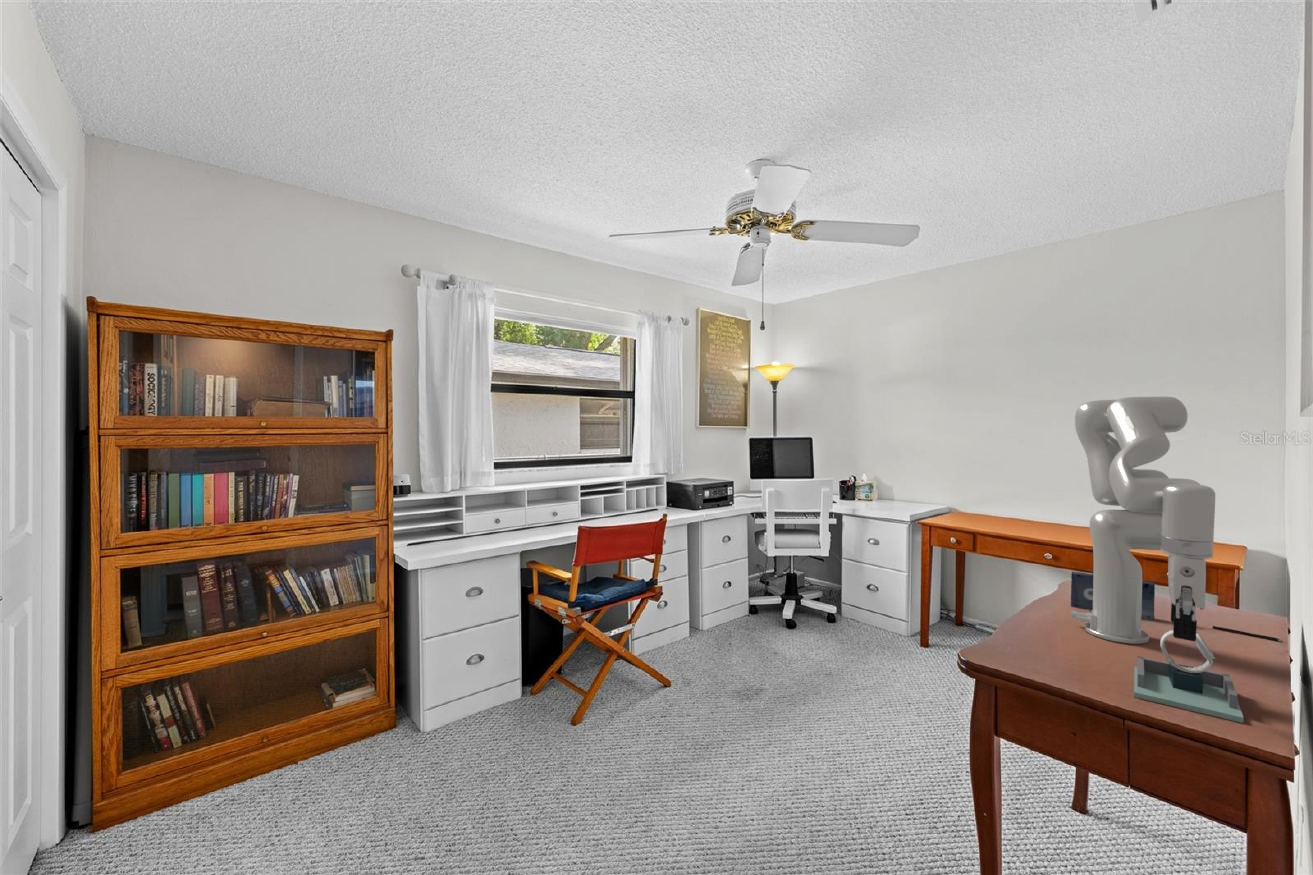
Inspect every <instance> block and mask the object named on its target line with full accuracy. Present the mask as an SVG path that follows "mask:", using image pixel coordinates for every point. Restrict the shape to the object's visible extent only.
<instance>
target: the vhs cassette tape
mask: <svg viewBox="0 0 1313 875" xmlns="http://www.w3.org/2000/svg"><path fill="white" fill-rule="evenodd" d="M1070 575H1071V577H1070V578H1071V582H1070V583H1071V584H1070V607H1072V608H1077V609H1082V610H1087V609H1088V611H1092V610H1093V573H1092V574H1091V573H1084V572H1078V571H1073V570H1072V571H1071V574H1070ZM1155 586H1156V584H1155V582H1148V581H1144V580H1142V613H1141V618H1144V619H1143V620H1147V619H1149V620H1148V621H1154V620H1155V594H1156V592H1155V589H1156V588H1155Z"/></svg>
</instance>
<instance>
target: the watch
mask: <svg viewBox="0 0 1313 875" xmlns="http://www.w3.org/2000/svg"><path fill="white" fill-rule="evenodd" d="M1172 636H1173V629H1170V630H1169V631H1166V632H1165V633H1164V634H1163V635H1162V636H1161V638H1160V642H1159V643H1160V644H1159V646H1160V648H1161V652H1162V654H1163V656H1164V658H1165V659H1166V660H1167V661H1166V662H1168V663H1169V679H1170V681H1171V684H1172V687H1173V688H1177V689H1182V690H1187V691H1191V692H1196V693H1201V694H1203V677H1202V675H1201V673H1200V672H1204V671H1206V670H1208V671H1209V669H1210V668H1211V667H1212V665H1213V664H1214V662H1213V661H1214V660H1216V657H1215V655H1214V653H1213V652H1212V651H1211V648H1210V647H1209V646H1208V644H1207V642H1206V641H1205V640H1204V639H1203V638H1202V636H1201V634H1199V633H1197V632H1196V641H1192V642H1193V643H1194V645H1195V647H1196V648H1197V649H1198V650H1199V652H1200V653H1201V655H1202V657H1203V658H1204V659H1206V661H1205V662H1204V663H1202V665H1199V666H1190V665H1185V664H1179V663H1176V661H1175V659H1173V658H1172V656H1171V655H1170V654H1169V652H1168V651H1167V648H1166V643H1165V642H1166V640H1167V639H1168V638H1170V637H1172Z"/></svg>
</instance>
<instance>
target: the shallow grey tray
mask: <svg viewBox="0 0 1313 875" xmlns="http://www.w3.org/2000/svg"><path fill="white" fill-rule="evenodd" d="M1136 659H1137V662H1136V663H1137V664H1136V665H1135V666H1133V670H1134V671H1133V697H1134V698H1137V699H1140V700H1145V701H1149V702H1153V703H1157V704H1160V705H1166V706H1168V707H1169V706H1170V707H1173V708H1179V709H1182V710H1187V711H1191V712H1196V713H1198V714H1204V715H1206V716H1212V717H1215V718H1219V719H1224V720H1229V721H1233V722H1237V723H1242V724H1244V722H1245V720H1244V718H1245V717H1244V715H1243V712H1242V709H1241V707H1240V703H1239V700H1238V693H1237V691H1236V689H1235V685H1234V683H1233V680H1232V677H1231V675H1230V674H1227V673H1223V672H1217V671H1213V670H1209V669H1208V670H1206V671H1204V672H1200V673H1201V675H1202V677H1203V694H1201V693H1196V692H1191V691H1187V690H1182V689H1177V688H1173V687H1172V684H1171V681H1170V679H1169V662H1168V661H1162V660H1158V659H1152V658H1149V657H1143V656H1137V658H1136Z"/></svg>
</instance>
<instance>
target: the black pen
mask: <svg viewBox="0 0 1313 875" xmlns="http://www.w3.org/2000/svg"><path fill="white" fill-rule="evenodd" d="M1212 630H1217V631H1221V632H1228V633H1232V634H1237V635H1242V636H1245V637H1246V636H1247V637H1251V638H1252V637H1253V638H1258V639H1263V640H1268V641H1273V642H1277V643H1284V640H1283V639H1281V638H1278V637H1273V636H1267V635H1262V634H1256V633H1252V632H1246V631H1242V630H1238V629H1237V630H1236V629H1232V628H1227V627H1222V626H1215V625H1212Z"/></svg>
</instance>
